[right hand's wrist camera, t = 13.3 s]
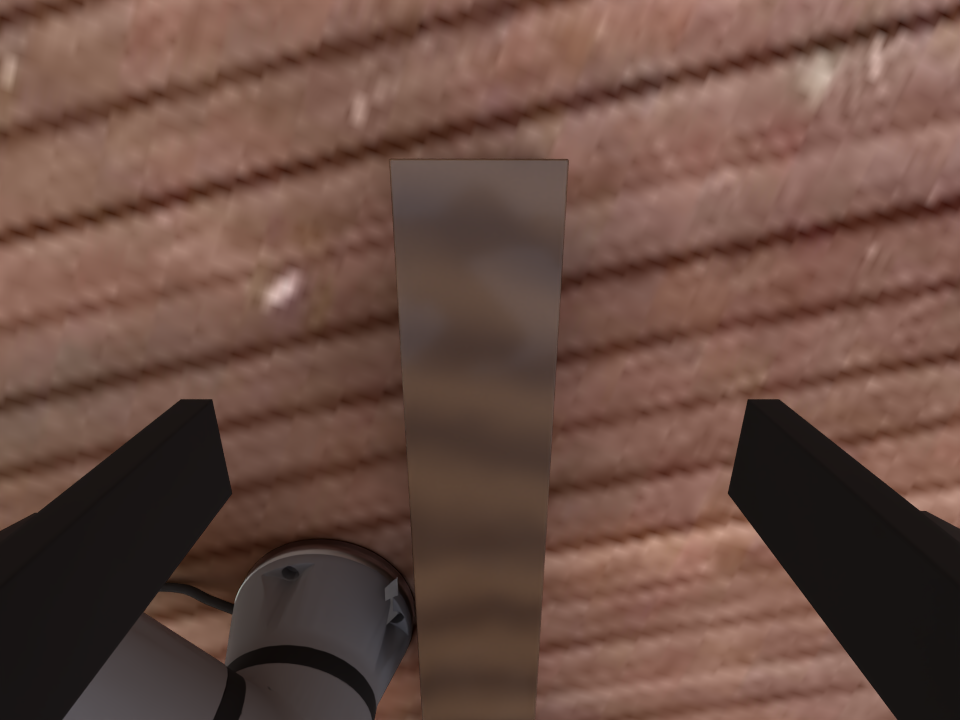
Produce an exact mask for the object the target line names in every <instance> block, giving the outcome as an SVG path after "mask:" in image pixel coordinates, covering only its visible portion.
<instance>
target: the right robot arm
mask: <svg viewBox="0 0 960 720" xmlns="http://www.w3.org/2000/svg"><path fill="white" fill-rule="evenodd" d="M231 494H232V491H231V486H230V481H229V476H228V472H227V467H226V462H225V458H224V453H223V448H222V443H221V439H220V434H219V429H218V425H217V420H216V415H215V410H214V406H213V401H212V399H181V400H180V401H178V402H177V403H176V404H175V405H173V406H172V407H171V408H169V409H168V410H167V411H166V412H164V413H163V414H162V415H161V416H159V417H158V418H157V419H156V420H154V421H153V422H152V423H150V424H149V425H148V426H147V427H145V428H144V429H143V430H142V431H140V432H139V433H138V434H137V435H135V436H134V437H133V438H132V439H130V440H129V441H128V442H126V443H125V444H124V445H123V446H121V447H120V448H119V449H118V450H116V451H115V452H114V453H113V454H111V455H110V456H109V457H108V458H106V459H105V460H104V461H102V462H101V463H100V464H99V465H97V466H96V467H95V468H94V469H92V470H91V471H90V472H89V473H87V474H86V475H85V476H83V477H82V478H81V479H80V480H78V481H77V482H76V483H75V484H73V485H72V486H71V487H70V488H68V489H67V490H66V491H65V492H63V493H62V494H61V495H59V496H58V497H57V498H56V499H54V500H53V501H52V502H51V503H49V504H48V505H47V506H46V507H44V508H43V509H42V510H40V511H39V512H38V513H34V514H32V515H30V516H28V517H26V518H24V519H22V520H20V521H19V522H17V523H15V524H13V525H11V526H9V527H7V528H5V529H3V530H1V531H0V720H374V719H375V714H376V709H377V705H378V703H379V701H380V699H381V698H382V696H383V694H384V692H385V690H386V688H387V686H388V684H389V683H390V681H391V679H392V677H393V675H394V673H395V671H396V669H397V668H398V666H399V664H400V662H401V660H402V658H403V656H404V655H405V653H406V650H407V648H408V646H409V644H410V641H411V637H412V631H413V624H414V617H415V606H414V600H413V596H412V593H411V591H410V589H409V587H408V585H407V583H406V581H405V580H404V578H403V577H402V576H401V575H400V573H399V572H398V571H397V570H396V569H395V568H394V567H393V566H392V565H391V564H389V563H388V562H387V561H386V560H384V559H383V558H381V557H380V556H378V555H376V554H375V553H373V552H371V551H369V550H367V549H365V548H362V547H359V546H357V545H353V544H350V543H346V542H342V541H335V540H325V539H312V540H303V541H297V542H293V543H289V544H286V545H284V546H281V547H279V548H277V549H274V550H273V551H271V552H269V553H268V554H266V555H265V556H263V557H262V558H261V559H260V560H259V561H258V562H257V563H256V564H255V565H254V566H253V567H252V569H251V570H250V572H249V573H248V575H247V577H246V579H245V580H244V582H243V584H242V586H241V587H240V589H239V591H238V594H237V596H236V599H235V604H232V603H229V602H226V601H224V600H221V599H219V598H216V597H214V596H211V595H209V594H207V593H205V592H203V591H201V590H199V589H197V588H195V587H193V586H190V585H185V584H178V583H165V582H166V581H167V580H168V578H169V577H170V576H171V574H172V573H173V572H174V570H175V569H176V568H177V566H178V565H179V564H180V562H181V561H182V560H183V558H184V557H185V556H186V554H187V553H188V552H189V550H190V549H191V548H192V546H193V545H194V544H195V542H196V541H197V540H198V538H199V537H200V536H201V534H202V533H203V532H204V530H205V529H206V528H207V526H208V525H209V524H210V522H211V521H212V520H213V518H214V517H215V516H216V514H217V513H218V512H219V510H220V509H221V508H222V506H223V505H224V504H225V502H226V501H227V500H228V498H229V497H230V496H231ZM728 494H729V496H730V497H731V498H732V500H733V501H734V502H735V504H736V505H737V506H738V508H739V509H740V510H741V512H742V513H743V514H744V516H745V517H746V518H747V520H748V521H749V522H750V524H751V525H752V526H753V528H754V529H755V530H756V532H757V533H758V534H759V536H760V537H761V538H762V540H763V541H764V542H765V544H766V545H767V546H768V548H769V549H770V550H771V552H772V553H773V554H774V556H775V557H776V558H777V560H778V561H779V562H780V564H781V565H782V566H783V568H784V569H785V570H786V572H787V573H788V574H789V576H790V577H791V578H792V580H793V581H794V582H795V584H796V585H797V586H798V588H799V589H800V590H801V592H802V593H803V594H804V596H805V597H806V598H807V600H808V601H809V602H810V604H811V605H812V606H813V608H814V609H815V610H816V612H817V613H818V614H819V616H820V617H821V618H822V620H823V621H824V622H825V624H826V625H827V626H828V628H829V629H830V630H831V632H832V633H833V634H834V636H835V637H836V638H837V640H838V641H839V642H840V644H841V645H842V646H843V648H844V649H845V650H846V652H847V653H848V654H849V656H850V657H851V658H852V660H853V661H854V662H855V664H856V665H857V666H858V668H859V669H860V670H861V672H862V673H863V674H864V676H865V677H866V678H867V680H868V681H869V682H870V684H871V685H872V686H873V688H874V689H875V690H876V692H877V693H878V694H879V696H880V697H881V698H882V700H883V701H884V702H885V704H886V705H887V706H888V708H889V709H890V710H891V712H892V713H893V714H894V716H895V717H896V718H897V720H960V529H959V528H957V527H955V526H953V525H951V524H950V523H948V522H946V521H944V520H942V519H940V518H938V517H936V516H934V515H932V514H930V513H929V512H927V511H920V510H918V509H917V508H916V507H914V506H913V505H912V504H911V503H909V502H908V501H907V500H906V499H904V498H903V497H902V496H901V495H899V494H898V493H897V492H895V491H894V490H893V489H892V488H890V487H889V486H888V485H887V484H885V483H884V482H883V481H882V480H880V479H879V478H878V477H877V476H875V475H874V474H873V473H871V472H870V471H869V470H868V469H866V468H865V467H864V466H863V465H861V464H860V463H859V462H858V461H856V460H855V459H854V458H852V457H851V456H850V455H849V454H847V453H846V452H845V451H844V450H842V449H841V448H840V447H839V446H837V445H836V444H835V443H834V442H832V441H831V440H830V439H828V438H827V437H826V436H825V435H823V434H822V433H821V432H820V431H818V430H817V429H816V428H815V427H813V426H812V425H811V424H810V423H808V422H807V421H806V420H804V419H803V418H802V417H801V416H799V415H798V414H797V413H796V412H794V411H793V410H792V409H791V408H789V407H788V406H787V405H785V404H784V403H783V402H782V401H780V400H779V399H748V401H747V406H746V410H745V415H744V420H743V425H742V429H741V434H740V439H739V443H738V448H737V453H736V458H735V462H734V467H733V472H732V476H731V481H730V486H729V491H728ZM158 592H176V593H182V594H186V595H189V596H191V597H193V598H195V599H197V600H198V601H200V602H202V603H204V604H207V605H209V606H212V607H214V608H217V609H219V610H222V611H224V612H227V613H230V614H232V621H231V627H230V634H229V640H228V647H227V654H226V660H225V664H223V663H222V662H220V661H219V660H217V659H215V658H214V657H212V656H211V655H209V654H208V653H206V652H205V651H203V650H201V649H200V648H198V647H197V646H195V645H194V644H192V643H191V642H189V641H187V640H186V639H184V638H183V637H181V636H180V635H178V634H176V633H175V632H173V631H172V630H170V629H169V628H167V627H166V626H164V625H162V624H161V623H159V622H158V621H156V620H155V619H153V618H151V617H150V616H148V615H147V614H145V613H144V610H145V609H146V608H147V606H148V605H149V604H150V602H151V601H152V600H153V598H154V597H155V596H156V594H157V593H158Z"/></svg>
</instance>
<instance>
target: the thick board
mask: <svg viewBox="0 0 960 720" xmlns="http://www.w3.org/2000/svg"><path fill="white" fill-rule="evenodd" d="M389 164H390V181H391V197H392V214H393V231H394V248H395V265H396V282H397V299H398V316H399V332H400V349H401V366H402V383H403V400H404V417H405V434H406V451H407V467H408V484H409V501H410V518H411V535H412V552H413V569H414V586H415V602H416V619H417V636H418V653H419V670H420V687H421V704H422V720H535V710H536V694H537V677H538V660H539V644H540V627H541V611H542V594H543V578H544V561H545V545H546V528H547V512H548V495H549V479H550V462H551V445H552V429H553V412H554V396H555V379H556V363H557V346H558V330H559V313H560V297H561V280H562V263H563V247H564V230H565V214H566V197H567V181H568V164H569V160H568V159H390V160H389Z"/></svg>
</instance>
